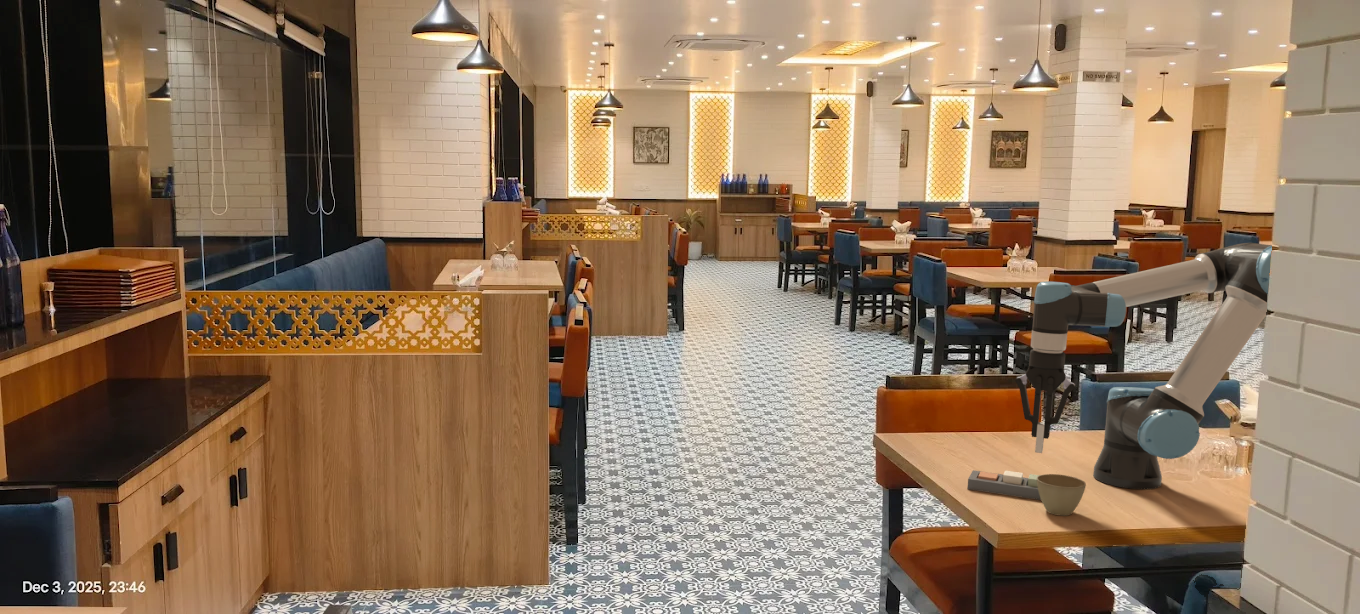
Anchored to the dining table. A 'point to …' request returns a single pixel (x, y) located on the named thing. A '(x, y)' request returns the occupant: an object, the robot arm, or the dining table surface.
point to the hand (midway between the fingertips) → (1038, 451)
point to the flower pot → (1060, 493)
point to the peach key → (988, 476)
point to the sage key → (1032, 480)
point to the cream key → (1013, 477)
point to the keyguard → (1002, 486)
